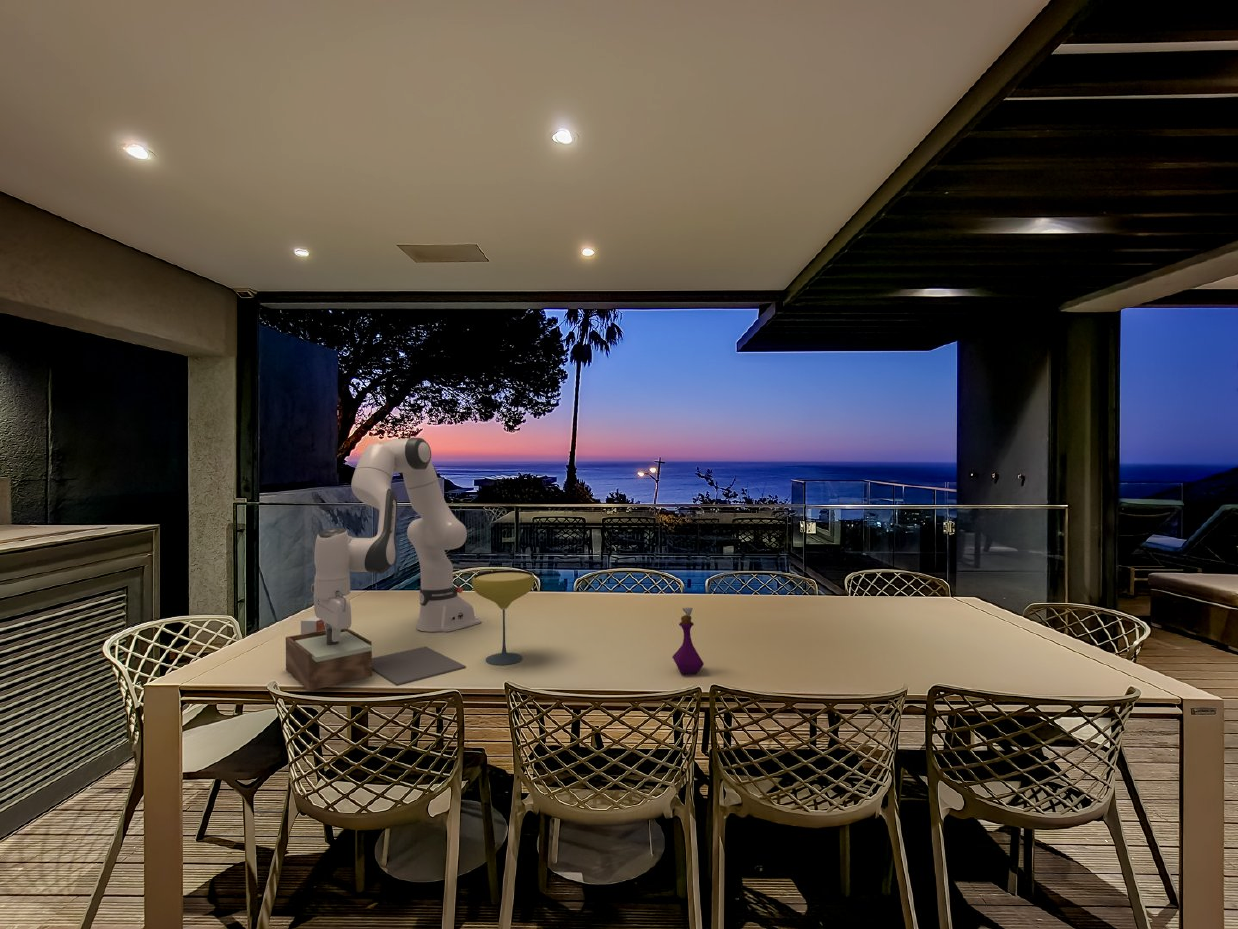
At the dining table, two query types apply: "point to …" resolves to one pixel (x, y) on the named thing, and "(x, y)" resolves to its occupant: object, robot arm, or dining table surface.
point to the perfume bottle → (687, 648)
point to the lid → (333, 646)
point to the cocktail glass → (503, 600)
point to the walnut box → (325, 664)
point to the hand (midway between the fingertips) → (332, 639)
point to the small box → (312, 625)
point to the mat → (413, 665)
